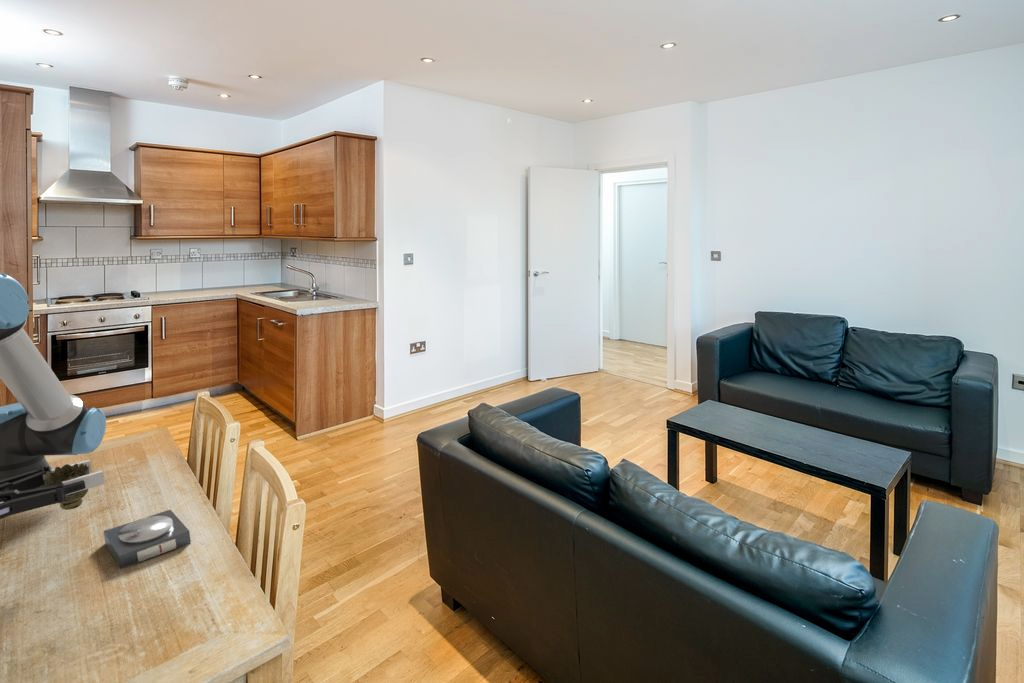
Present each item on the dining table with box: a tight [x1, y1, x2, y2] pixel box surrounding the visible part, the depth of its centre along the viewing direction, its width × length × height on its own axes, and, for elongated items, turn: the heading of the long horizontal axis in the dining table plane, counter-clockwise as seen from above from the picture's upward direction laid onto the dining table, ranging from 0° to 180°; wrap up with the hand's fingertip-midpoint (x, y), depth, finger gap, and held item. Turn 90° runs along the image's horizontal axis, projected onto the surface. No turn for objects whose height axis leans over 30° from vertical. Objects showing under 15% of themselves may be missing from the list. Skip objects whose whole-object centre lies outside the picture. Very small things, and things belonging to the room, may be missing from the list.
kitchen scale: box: [103, 509, 191, 569], centre depth 120 cm, size 14×13×4 cm
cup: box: [42, 462, 90, 511], centre depth 112 cm, size 8×7×8 cm
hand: (96, 471), depth 115 cm, fingers closed on cup, 7 cm apart
